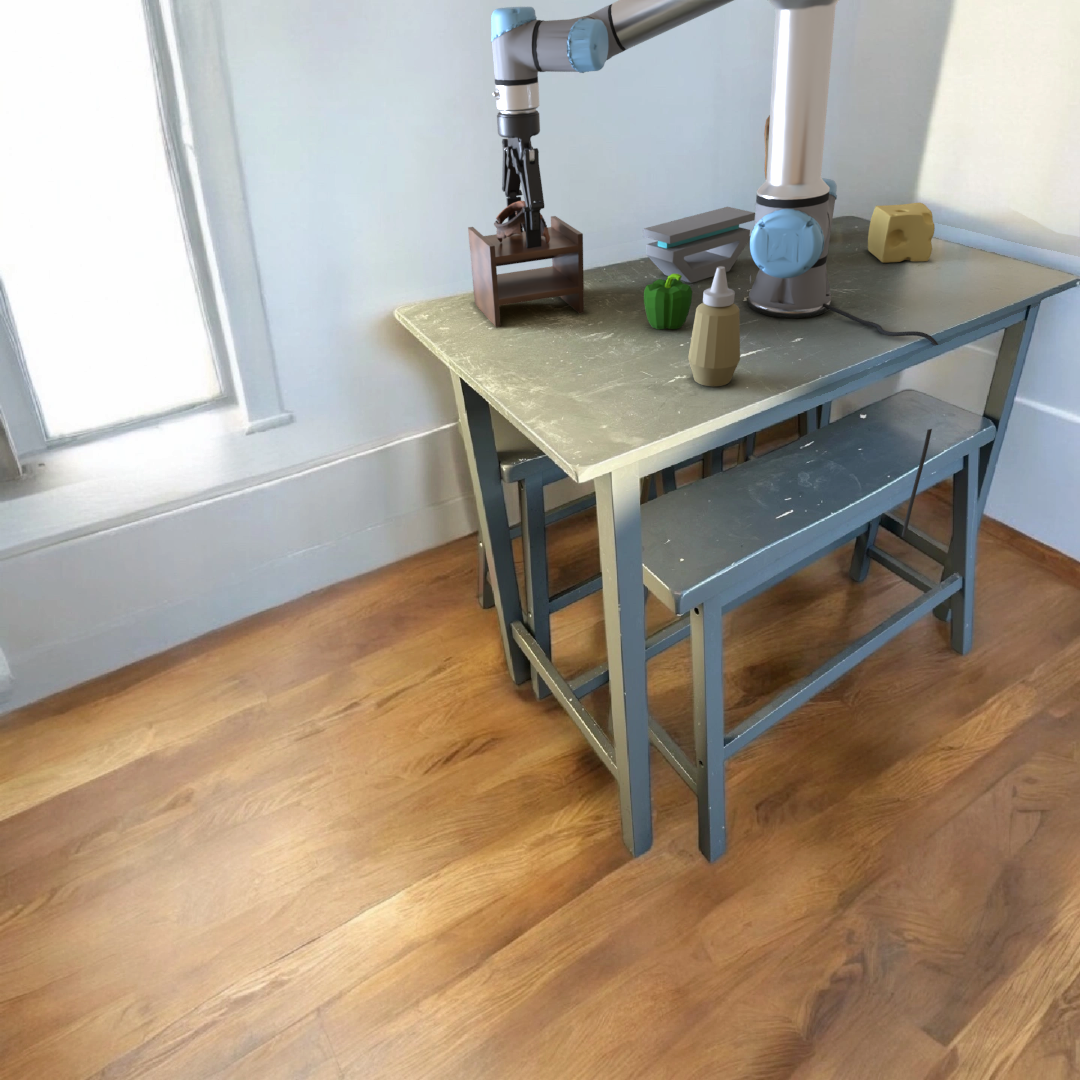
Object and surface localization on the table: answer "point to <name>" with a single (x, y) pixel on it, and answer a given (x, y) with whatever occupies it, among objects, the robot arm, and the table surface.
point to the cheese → (901, 232)
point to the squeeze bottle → (715, 335)
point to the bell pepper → (667, 302)
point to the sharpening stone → (699, 243)
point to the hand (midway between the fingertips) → (524, 239)
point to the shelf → (528, 283)
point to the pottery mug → (516, 222)
